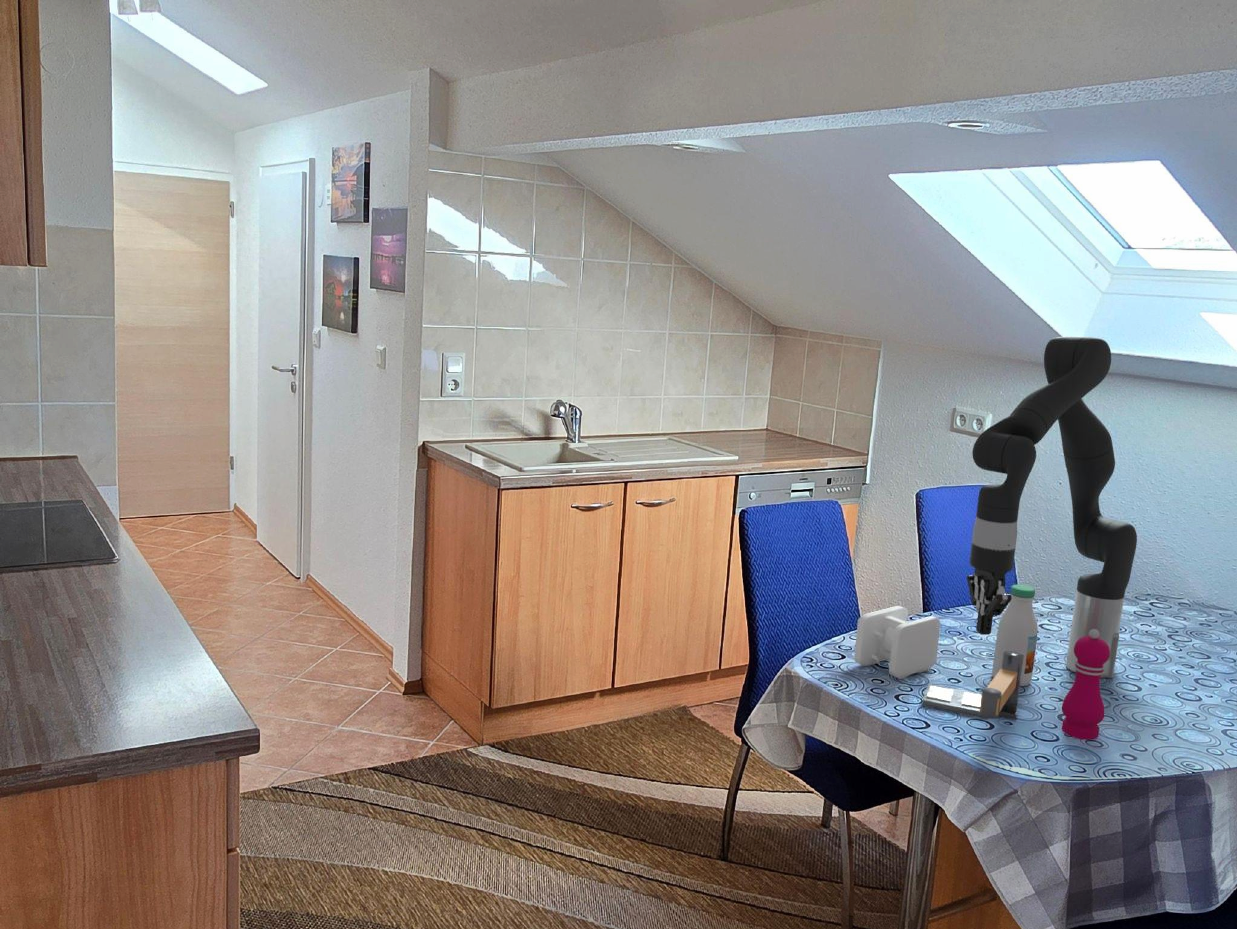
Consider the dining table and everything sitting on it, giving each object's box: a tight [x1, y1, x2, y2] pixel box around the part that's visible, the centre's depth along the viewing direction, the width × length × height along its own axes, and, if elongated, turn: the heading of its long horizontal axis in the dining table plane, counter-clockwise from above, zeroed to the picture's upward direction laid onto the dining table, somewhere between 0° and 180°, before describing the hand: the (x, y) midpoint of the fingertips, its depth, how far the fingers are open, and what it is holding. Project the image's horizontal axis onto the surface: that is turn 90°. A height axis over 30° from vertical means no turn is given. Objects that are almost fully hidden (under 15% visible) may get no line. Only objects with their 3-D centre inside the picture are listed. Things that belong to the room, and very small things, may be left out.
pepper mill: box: [1061, 629, 1110, 741], centre depth 191 cm, size 7×7×20 cm
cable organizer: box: [853, 605, 941, 680], centre depth 219 cm, size 15×11×12 cm
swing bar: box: [980, 669, 1017, 720], centre depth 189 cm, size 16×3×4 cm, turn 148°
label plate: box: [921, 683, 989, 720], centre depth 203 cm, size 12×9×2 cm
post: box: [999, 651, 1024, 721], centre depth 199 cm, size 4×4×12 cm
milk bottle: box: [991, 584, 1039, 687], centre depth 215 cm, size 8×8×20 cm
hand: (983, 633), depth 193 cm, fingers closed
